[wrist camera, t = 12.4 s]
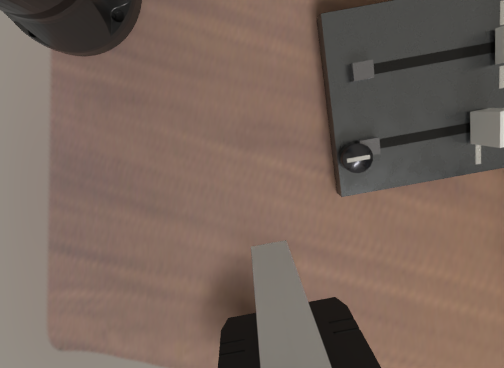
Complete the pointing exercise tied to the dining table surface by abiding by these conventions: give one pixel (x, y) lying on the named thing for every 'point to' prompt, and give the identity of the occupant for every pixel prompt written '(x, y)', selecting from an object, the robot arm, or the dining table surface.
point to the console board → (409, 90)
